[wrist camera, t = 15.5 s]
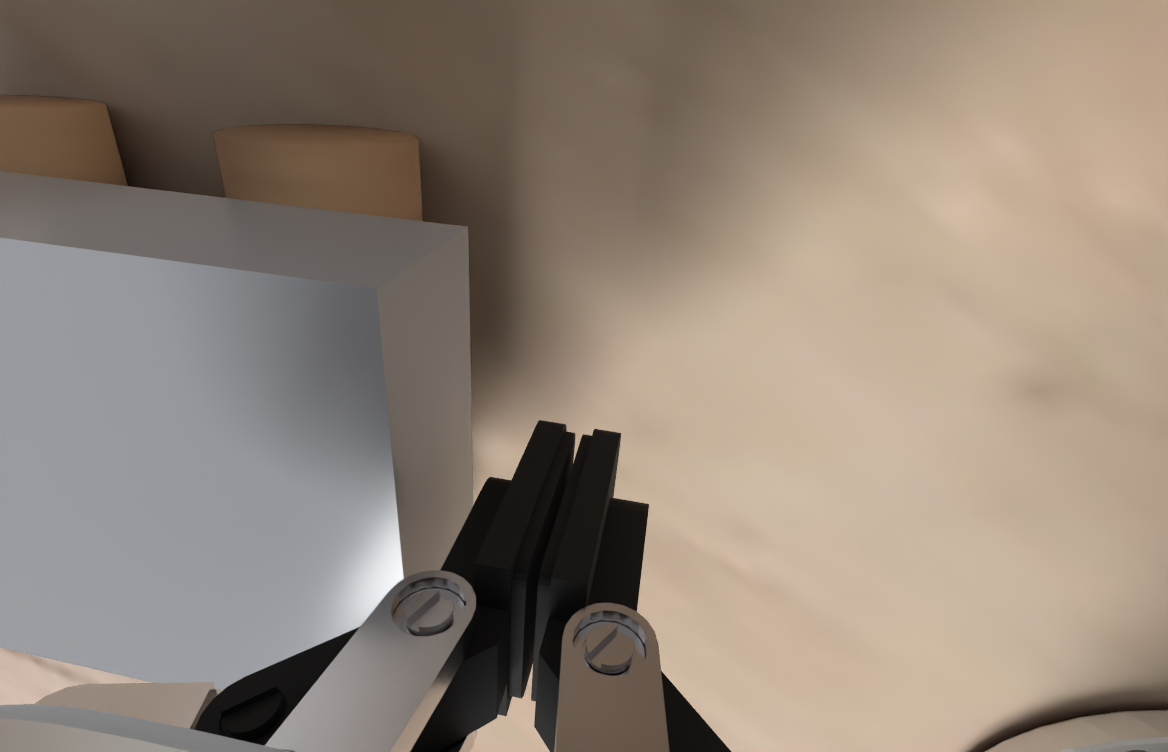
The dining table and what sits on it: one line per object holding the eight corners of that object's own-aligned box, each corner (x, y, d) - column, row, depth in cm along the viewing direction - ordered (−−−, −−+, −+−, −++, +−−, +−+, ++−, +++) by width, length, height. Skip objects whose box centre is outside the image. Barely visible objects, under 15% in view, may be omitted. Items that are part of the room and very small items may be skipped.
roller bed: (446, 135, 14) (362, 157, 11) (458, 522, 20) (406, 619, 16) (-179, 73, 17) (-417, 74, 13) (-10, 437, 22) (-145, 507, 19)
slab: (468, 226, 11) (375, 288, 8) (475, 611, 16) (419, 744, 13) (-246, 141, 13) (-542, 164, 10) (-51, 506, 18) (-211, 598, 14)
